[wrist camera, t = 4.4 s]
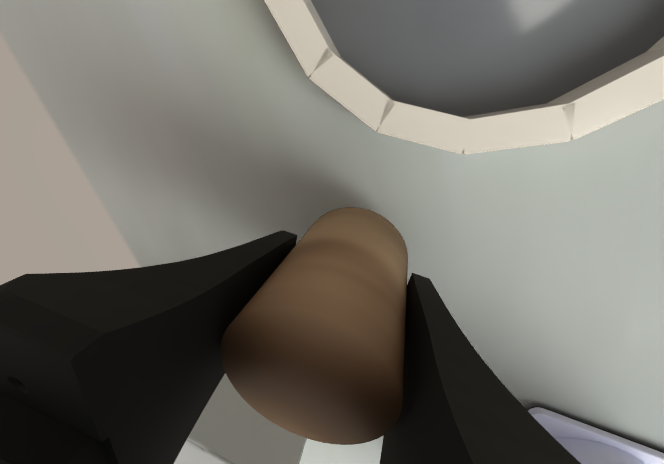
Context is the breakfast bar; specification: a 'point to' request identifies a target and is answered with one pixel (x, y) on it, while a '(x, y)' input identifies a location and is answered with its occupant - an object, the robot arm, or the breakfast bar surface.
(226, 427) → the skincare box
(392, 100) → the round tray
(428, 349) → the robot arm
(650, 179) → the breakfast bar surface
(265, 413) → the walnut cylinder
